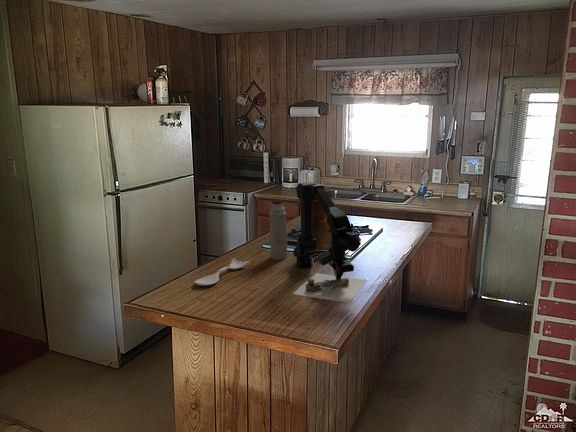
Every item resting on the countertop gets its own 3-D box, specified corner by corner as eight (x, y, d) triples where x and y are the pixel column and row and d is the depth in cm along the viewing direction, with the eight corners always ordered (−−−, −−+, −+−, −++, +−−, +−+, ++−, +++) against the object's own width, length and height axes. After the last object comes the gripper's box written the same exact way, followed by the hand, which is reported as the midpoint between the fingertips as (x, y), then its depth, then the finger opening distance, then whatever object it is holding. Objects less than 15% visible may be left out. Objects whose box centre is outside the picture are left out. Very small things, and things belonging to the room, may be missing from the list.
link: (308, 292, 191) (308, 287, 190) (304, 288, 195) (303, 283, 194) (350, 285, 197) (351, 280, 196) (346, 281, 201) (346, 277, 200)
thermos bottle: (274, 254, 243) (272, 199, 236) (289, 255, 240) (287, 199, 234) (268, 259, 236) (266, 202, 229) (284, 260, 233) (282, 203, 226)
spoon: (250, 266, 226) (250, 259, 225) (207, 290, 199) (206, 282, 198) (234, 264, 230) (234, 257, 229) (190, 287, 203) (189, 279, 202)
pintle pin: (307, 284, 192) (307, 280, 192) (309, 282, 194) (309, 278, 194) (312, 285, 191) (312, 281, 191) (315, 283, 193) (315, 279, 193)
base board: (292, 295, 191) (292, 293, 191) (316, 274, 213) (316, 273, 212) (348, 304, 181) (348, 302, 181) (367, 282, 203) (367, 280, 203)
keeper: (317, 294, 189) (317, 286, 188) (325, 287, 196) (324, 279, 195) (330, 296, 187) (330, 287, 186) (337, 289, 194) (337, 281, 193)
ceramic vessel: (343, 246, 252) (343, 189, 245) (322, 258, 235) (322, 197, 228) (316, 242, 261) (315, 187, 254) (295, 253, 243) (293, 194, 236)
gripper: (311, 240, 202) (311, 275, 206) (327, 254, 185) (327, 292, 189) (336, 237, 205) (336, 272, 209) (354, 251, 188) (354, 288, 192)
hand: (337, 281), depth 200 cm, fingers closed
